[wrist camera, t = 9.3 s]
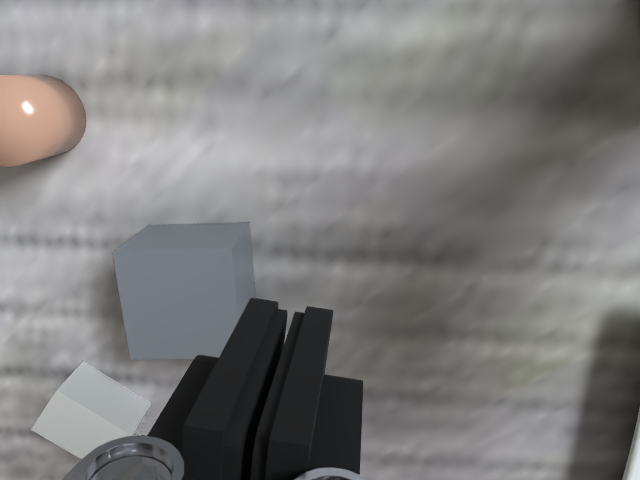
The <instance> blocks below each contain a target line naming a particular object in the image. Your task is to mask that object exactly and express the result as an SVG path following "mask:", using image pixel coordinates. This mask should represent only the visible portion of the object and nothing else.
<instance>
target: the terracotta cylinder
mask: <svg viewBox="0 0 640 480" xmlns="http://www.w3.org/2000/svg"><path fill="white" fill-rule="evenodd" d="M85 128H86V114H85V109H84V106H83V104H82V101H81V99H80V98H79V96H78V95H77V93H76V92H75V91H74V90H73V89H72V88H71V87H70V86H69V85H68V84H67V83H65V82H64V81H62V80H60V79H58V78H55V77H52V76H48V75H0V166H5V167H12V166H18V165H22V164H26V163H29V162H33V161H36V160H40V159H43V158H47V157H50V156H54V155H57V154H61V153H64V152H67V151H69V150H71V149H72V148H74V147H75V146H76V145H77V144H78V143H79V142H80V140H81V139H82V137H83V135H84V132H85Z"/></svg>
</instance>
